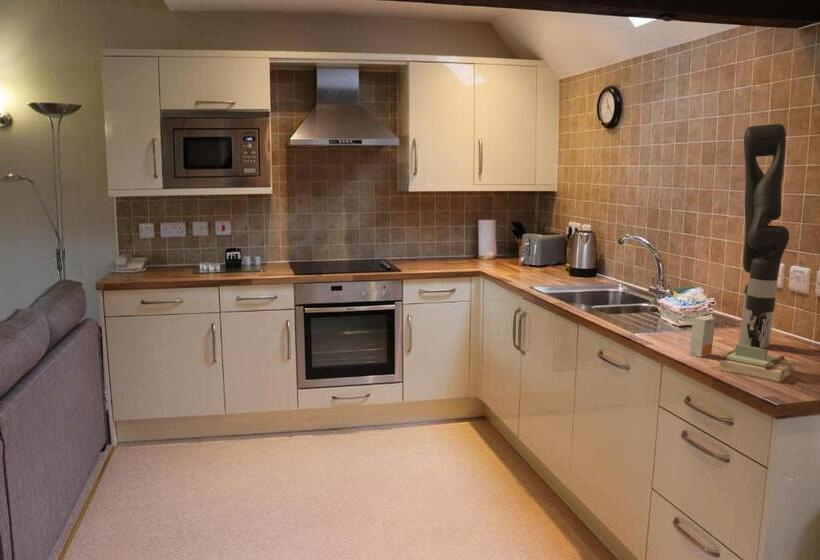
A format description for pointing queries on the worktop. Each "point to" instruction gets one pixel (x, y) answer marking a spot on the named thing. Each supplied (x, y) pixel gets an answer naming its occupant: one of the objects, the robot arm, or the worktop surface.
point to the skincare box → (702, 336)
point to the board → (759, 368)
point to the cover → (751, 355)
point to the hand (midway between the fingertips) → (754, 352)
